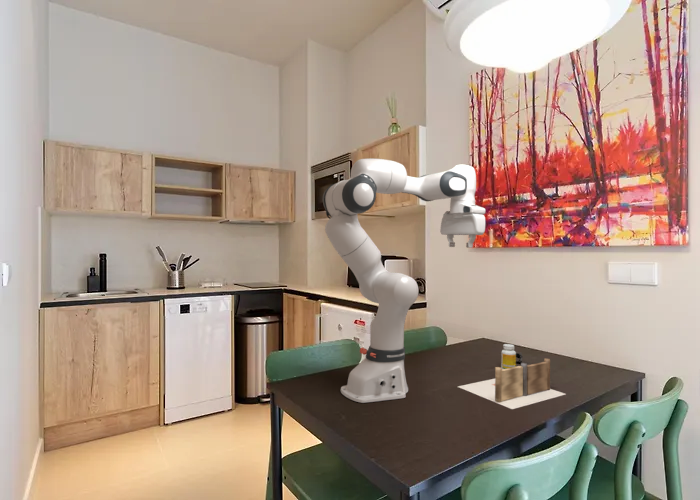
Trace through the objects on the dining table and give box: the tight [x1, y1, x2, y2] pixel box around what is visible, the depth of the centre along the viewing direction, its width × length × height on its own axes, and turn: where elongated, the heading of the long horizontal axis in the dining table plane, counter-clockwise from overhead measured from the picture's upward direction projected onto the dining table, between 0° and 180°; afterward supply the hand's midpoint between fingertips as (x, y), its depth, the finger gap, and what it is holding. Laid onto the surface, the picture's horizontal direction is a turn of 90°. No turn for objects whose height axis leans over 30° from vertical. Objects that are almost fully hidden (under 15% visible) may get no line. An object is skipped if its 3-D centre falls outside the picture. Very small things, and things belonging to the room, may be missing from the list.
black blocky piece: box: [514, 350, 530, 365], centre depth 169 cm, size 12×7×5 cm, turn 52°
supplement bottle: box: [500, 343, 517, 369], centre depth 158 cm, size 5×5×10 cm
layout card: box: [457, 378, 567, 410], centre depth 133 cm, size 26×22×1 cm
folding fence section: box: [494, 365, 523, 402], centre depth 125 cm, size 11×2×10 cm, turn 120°
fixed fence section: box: [520, 358, 551, 396], centre depth 132 cm, size 14×2×10 cm, turn 120°
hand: (460, 247), depth 149 cm, fingers open, 8 cm apart
